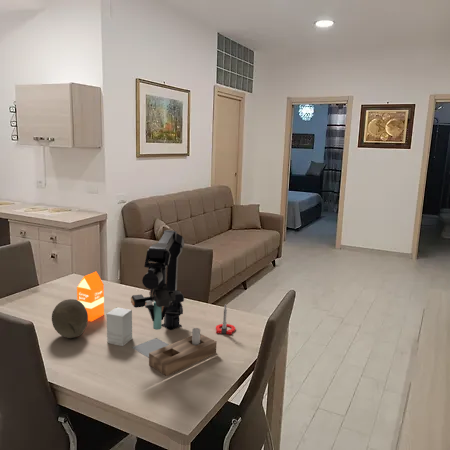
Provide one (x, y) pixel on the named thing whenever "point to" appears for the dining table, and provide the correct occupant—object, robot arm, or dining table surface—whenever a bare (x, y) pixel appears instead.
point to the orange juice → (92, 295)
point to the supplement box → (119, 326)
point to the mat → (150, 346)
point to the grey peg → (195, 336)
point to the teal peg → (157, 317)
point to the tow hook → (225, 325)
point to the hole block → (181, 354)
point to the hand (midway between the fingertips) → (157, 320)
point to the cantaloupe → (70, 318)
